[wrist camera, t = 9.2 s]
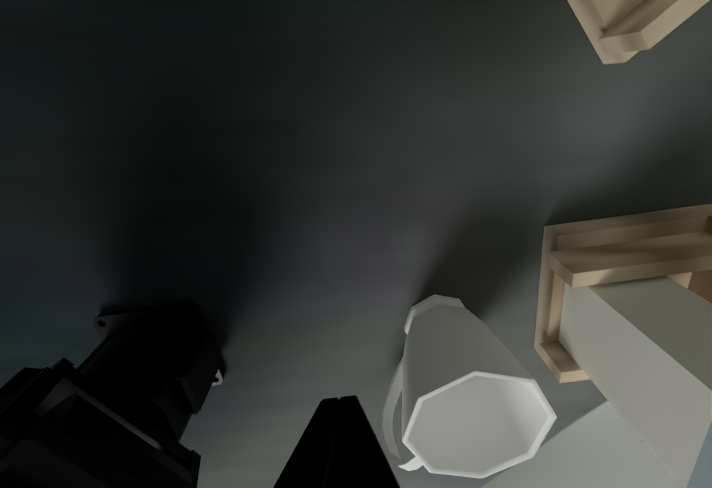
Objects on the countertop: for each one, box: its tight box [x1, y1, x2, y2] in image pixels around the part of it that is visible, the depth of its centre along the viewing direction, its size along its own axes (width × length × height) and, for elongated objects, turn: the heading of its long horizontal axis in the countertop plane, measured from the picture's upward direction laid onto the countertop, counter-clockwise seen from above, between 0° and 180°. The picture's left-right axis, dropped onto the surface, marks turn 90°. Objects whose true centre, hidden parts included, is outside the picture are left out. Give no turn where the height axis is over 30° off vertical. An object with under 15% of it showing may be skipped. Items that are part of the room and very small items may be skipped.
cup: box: [380, 294, 557, 478], centre depth 20 cm, size 7×10×8 cm
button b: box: [558, 276, 712, 488], centre depth 16 cm, size 4×5×10 cm
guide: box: [534, 204, 712, 383], centre depth 20 cm, size 10×9×6 cm
